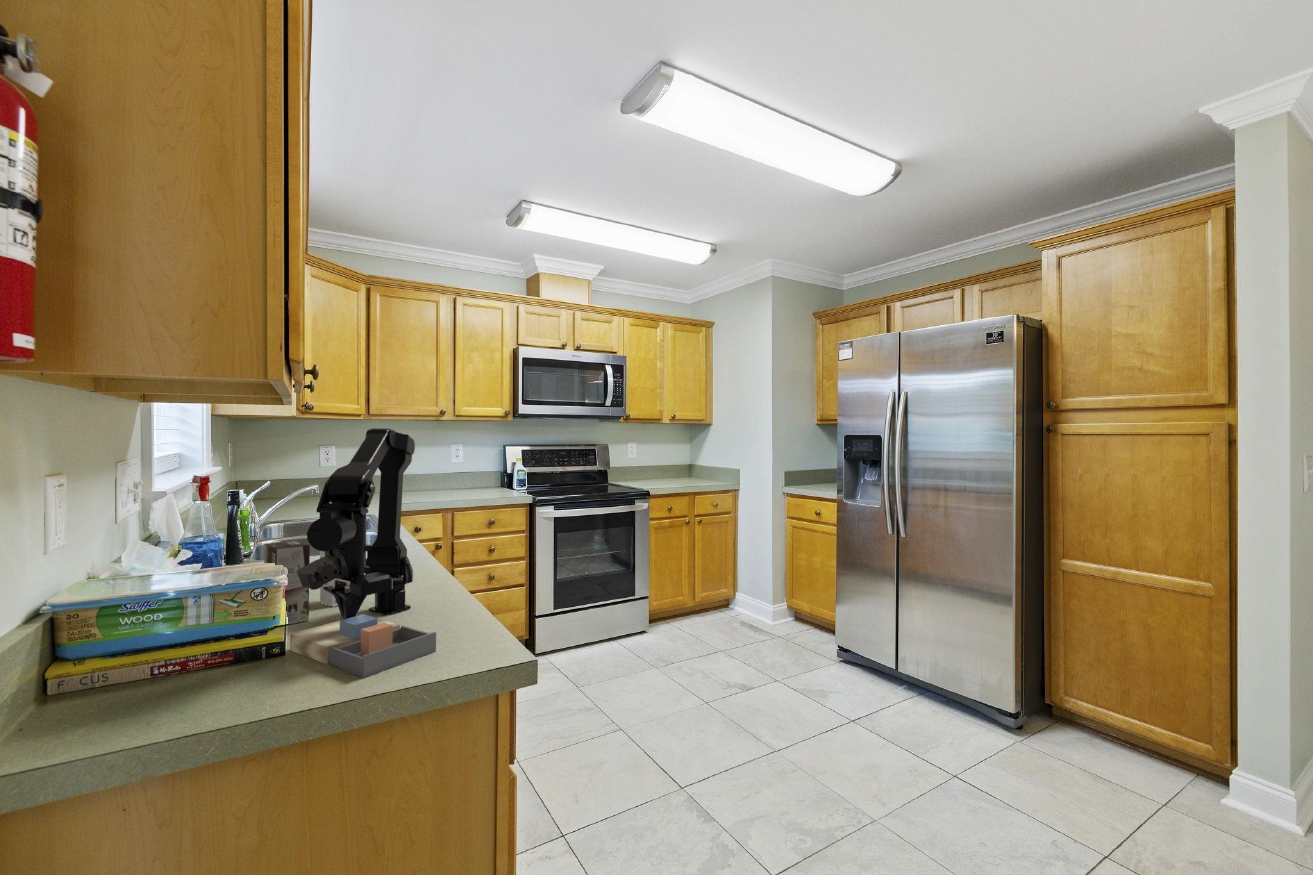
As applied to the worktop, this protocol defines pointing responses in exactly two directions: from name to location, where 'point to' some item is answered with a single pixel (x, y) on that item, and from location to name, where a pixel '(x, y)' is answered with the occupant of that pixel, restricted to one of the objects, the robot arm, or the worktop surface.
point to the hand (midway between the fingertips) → (348, 624)
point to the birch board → (323, 640)
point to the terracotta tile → (376, 638)
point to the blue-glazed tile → (356, 625)
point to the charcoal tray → (384, 652)
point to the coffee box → (292, 575)
